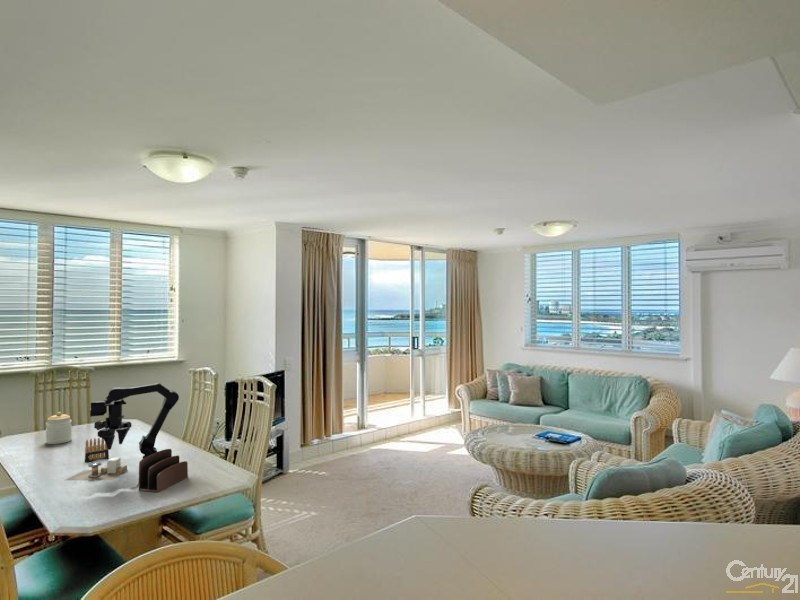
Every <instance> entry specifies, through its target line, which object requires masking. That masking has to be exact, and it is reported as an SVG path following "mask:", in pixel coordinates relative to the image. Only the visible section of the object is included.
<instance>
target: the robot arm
mask: <svg viewBox="0 0 800 600" xmlns="http://www.w3.org/2000/svg"><path fill="white" fill-rule="evenodd" d="M154 392H155V393H158V394H160V395H161V396H162V397H164V398H163V400H162V405H161V408H160V410H159V412H158V414H157V416H156V418H155V419H154V422H153V424H152V426H151V428H150V429H149V431H148V433H147V434H146V435H142V436H141V439H140V441H139V442H138V445H139V446H138V448H139V451H140V453H141V454H142V455H143V456H142V459H144V458H146V457H147V456H149V455H151V454H154V453H156V452H158V449H157V447H155V444H156V441H157V436H158V434H159V432H160V431H161V429H162V427H163V424H164V422H165V420H166V418H167V417H168V415H169V413H170V411H171V410H172V409H173V408H174V407H175V405H176V404H177V403H178V402H179V399H180V396H179V394H178V393H177V392H176V391H175V390H170V389H168V388H167V387H165V386H164V385H162V384H161V382H156V383H151V384H150V383H149V384H144V385H138V386H132V387H126V386H125V387H124V386H123V387H122V386H121V387H118V386H117V387H112V388H110V389H109V390H108V393H107V394H108V395H107V396H106V397H105V398H104V400H102V401H91V402H90V408H89V412H90V413H89V415H90V417H101V416H105V414H107V417H106V418H105V420H103V421H101V420H98V421H95V422H94V425H93V427H94V428H93V429H95V430H97V437H98V438H101V439H102V438H103V439H104V444H105V443H106V445H107V448H108V451H109V450H112V446H113V444H114V441H115V437H116V433H117V437H118V439H117V440H118V444H119V445H123V442H124V440H125V438H126V436H127V434H128V433H129V431H130V430H131V428H132V425H133V424H132V422H131V421H123V418H125V415H124V414H123V405H127V401H126V400H124V399H126V398H129V397H132V396H137V395H143V394H144V395H145V394H150V393H151V394H152V393H154ZM107 407H108V408H107ZM107 409H108V410H107ZM107 412H108V413H107Z"/></svg>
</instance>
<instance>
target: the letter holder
mask: <svg viewBox="0 0 800 600" xmlns="http://www.w3.org/2000/svg"><path fill="white" fill-rule="evenodd" d="M172 452H173V451H172V448H165V449H162V450H159V451H158V450H157V452H156V453H154V454H151V455H149V456H147V457H146V458H144V459H143V458H142V459H141V460H140V461H139V462H138V463H139V464H138V491H139V492H147V493H159V492H161V491H163V490H166V489H168V488H169V487H172V486H174V485H175V484H177V483H179V482H182V481H183V480H185V479H187V478H188V477H189V473H188V472H189V470H188V461H186V460H185V461H180V455H177V454H176V455H172V454H173V453H172Z"/></svg>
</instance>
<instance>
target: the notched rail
mask: <svg viewBox="0 0 800 600" xmlns="http://www.w3.org/2000/svg"><path fill="white" fill-rule="evenodd" d="M100 470H101V474H105V473H107V464H106V465H104V466H103V467H101V468H100ZM126 471H128V465H127V464H122V465H121V466H120V467H118V468H117V474H120V475H121V474H123V473H125V472H126Z"/></svg>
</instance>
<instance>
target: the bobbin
mask: <svg viewBox="0 0 800 600" xmlns="http://www.w3.org/2000/svg"><path fill="white" fill-rule="evenodd" d="M87 465H88V468H91V470H92V474H90V475H88V477H89V478H95V477H99V476H101V473H98V470H99V467H100V466H102V462H101V461H99V462H98V461H97V462H95V461H94V462H91V463H88V464H87Z"/></svg>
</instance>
